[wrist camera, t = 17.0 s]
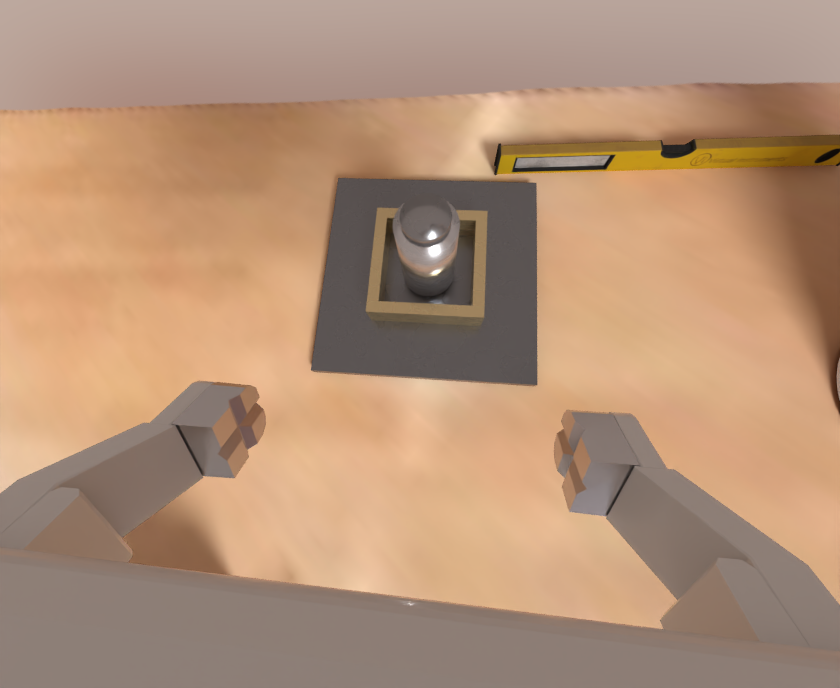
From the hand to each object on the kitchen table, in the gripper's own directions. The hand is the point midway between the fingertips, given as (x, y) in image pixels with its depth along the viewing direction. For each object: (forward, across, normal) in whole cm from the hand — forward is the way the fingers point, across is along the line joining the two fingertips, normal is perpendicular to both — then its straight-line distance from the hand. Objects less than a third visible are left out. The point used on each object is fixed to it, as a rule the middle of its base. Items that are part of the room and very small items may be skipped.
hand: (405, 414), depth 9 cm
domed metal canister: (+24, +1, +5) cm, 24 cm away
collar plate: (+25, +1, +6) cm, 25 cm away
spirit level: (+35, -21, -3) cm, 41 cm away
